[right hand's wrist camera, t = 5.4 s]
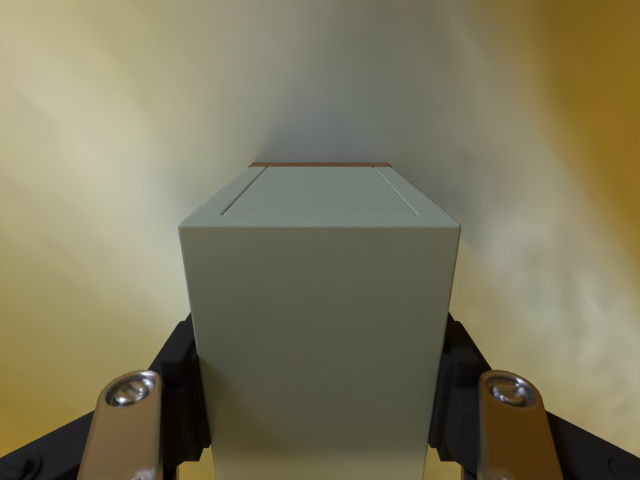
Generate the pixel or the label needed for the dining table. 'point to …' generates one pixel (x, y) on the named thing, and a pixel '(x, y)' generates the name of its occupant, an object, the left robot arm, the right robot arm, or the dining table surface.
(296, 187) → the cabinet
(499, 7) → the dining table surface
